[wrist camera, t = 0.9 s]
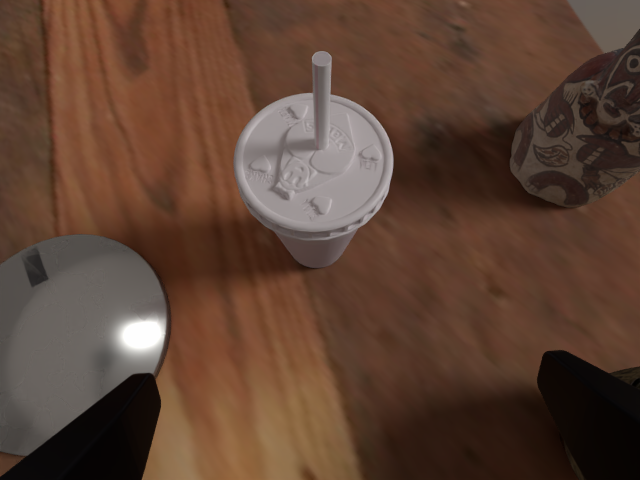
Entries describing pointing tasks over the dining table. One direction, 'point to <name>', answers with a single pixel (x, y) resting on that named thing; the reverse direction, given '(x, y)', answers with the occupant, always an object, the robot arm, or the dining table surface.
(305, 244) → the smoothie
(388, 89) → the dining table surface
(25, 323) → the pad
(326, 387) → the dining table surface
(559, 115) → the figurine
